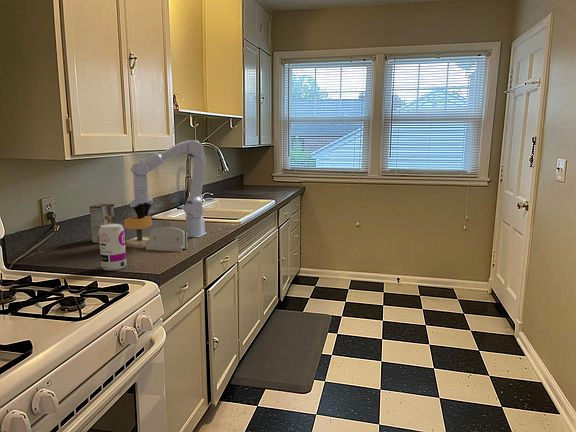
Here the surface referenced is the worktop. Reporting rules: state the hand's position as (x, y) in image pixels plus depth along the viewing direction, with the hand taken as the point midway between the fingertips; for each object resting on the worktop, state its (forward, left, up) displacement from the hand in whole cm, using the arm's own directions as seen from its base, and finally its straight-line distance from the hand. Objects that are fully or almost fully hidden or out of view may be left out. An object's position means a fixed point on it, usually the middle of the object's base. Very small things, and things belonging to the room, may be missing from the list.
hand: (142, 221), depth 192 cm
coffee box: (+1, -19, -10) cm, 21 cm away
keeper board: (+3, 0, -9) cm, 10 cm away
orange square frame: (+3, 0, -2) cm, 4 cm away
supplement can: (+38, +12, -10) cm, 41 cm away
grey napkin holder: (+8, +16, -10) cm, 21 cm away
